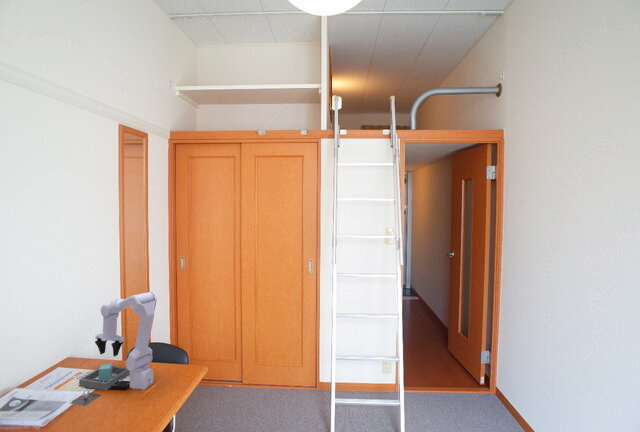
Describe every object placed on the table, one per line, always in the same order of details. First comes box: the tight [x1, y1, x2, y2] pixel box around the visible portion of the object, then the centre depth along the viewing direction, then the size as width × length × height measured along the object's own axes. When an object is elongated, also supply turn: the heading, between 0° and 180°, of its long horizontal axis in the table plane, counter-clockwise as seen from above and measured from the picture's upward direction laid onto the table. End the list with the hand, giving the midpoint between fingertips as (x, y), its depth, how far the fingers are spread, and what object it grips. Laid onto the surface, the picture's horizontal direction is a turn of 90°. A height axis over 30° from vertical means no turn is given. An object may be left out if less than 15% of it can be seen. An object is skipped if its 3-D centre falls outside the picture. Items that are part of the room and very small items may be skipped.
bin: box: [78, 365, 130, 391], centre depth 149 cm, size 14×14×4 cm
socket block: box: [97, 363, 113, 381], centre depth 149 cm, size 4×4×7 cm
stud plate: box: [70, 390, 102, 407], centre depth 135 cm, size 8×8×4 cm
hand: (109, 354), depth 157 cm, fingers open, 7 cm apart
